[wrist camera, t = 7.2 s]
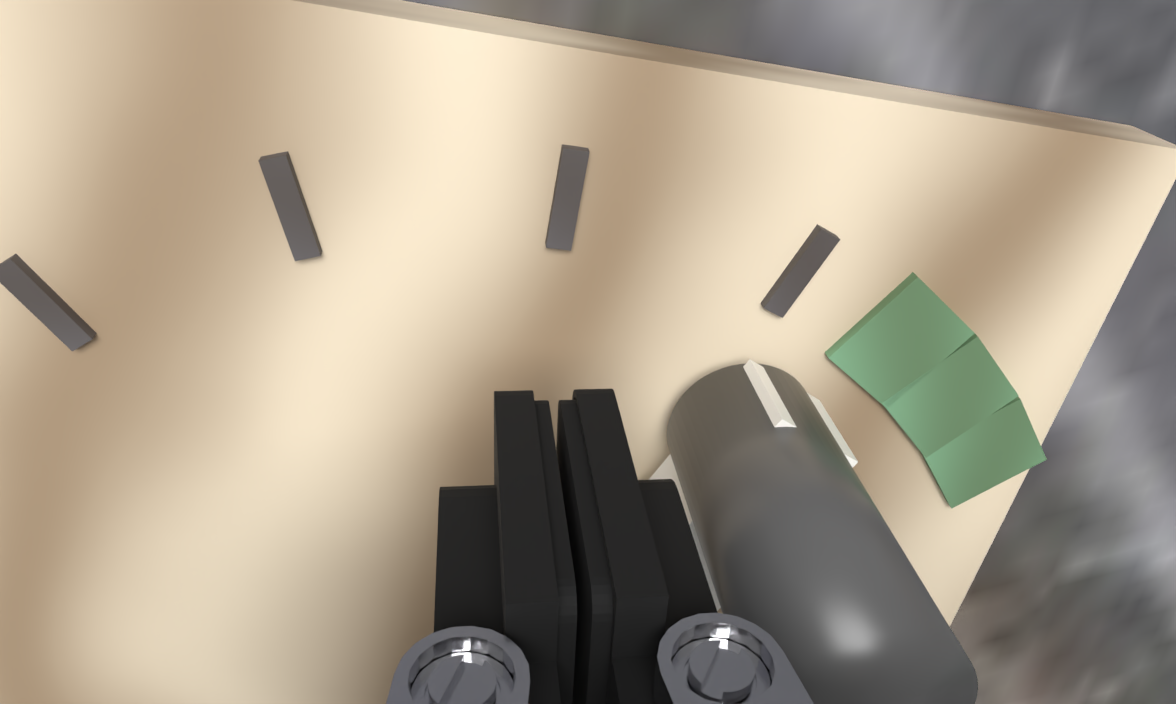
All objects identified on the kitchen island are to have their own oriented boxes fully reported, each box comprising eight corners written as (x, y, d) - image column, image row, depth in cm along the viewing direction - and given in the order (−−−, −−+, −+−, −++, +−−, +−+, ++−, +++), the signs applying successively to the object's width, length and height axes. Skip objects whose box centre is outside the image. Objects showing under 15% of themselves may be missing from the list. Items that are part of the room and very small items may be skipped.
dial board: (1135, 126, 16) (1202, 155, 15) (828, 780, 25) (851, 840, 23) (-138, -93, 12) (-219, -83, 11) (14, 768, 21) (-21, 839, 19)
